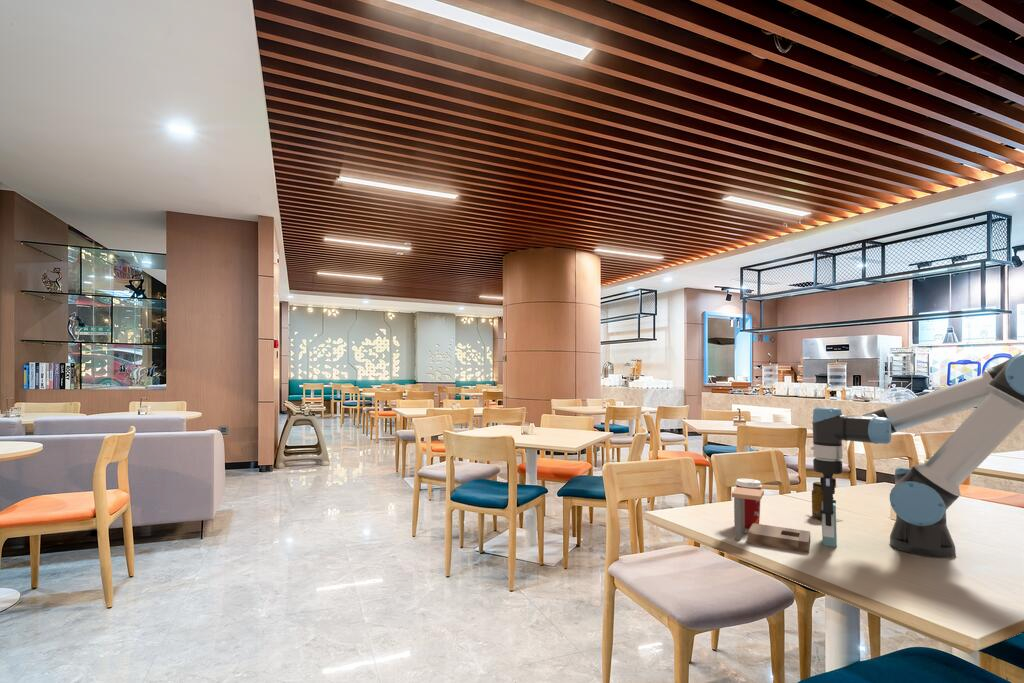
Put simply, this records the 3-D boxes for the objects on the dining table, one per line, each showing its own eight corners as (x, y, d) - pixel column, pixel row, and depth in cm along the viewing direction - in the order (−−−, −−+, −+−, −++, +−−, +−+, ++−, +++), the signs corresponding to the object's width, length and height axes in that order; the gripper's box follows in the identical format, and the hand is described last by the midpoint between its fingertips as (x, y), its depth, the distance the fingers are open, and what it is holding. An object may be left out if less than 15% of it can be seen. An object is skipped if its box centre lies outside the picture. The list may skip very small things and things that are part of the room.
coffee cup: (765, 530, 170) (764, 483, 171) (738, 529, 172) (737, 482, 173) (759, 523, 179) (758, 478, 179) (733, 521, 180) (732, 477, 181)
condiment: (822, 514, 191) (822, 480, 191) (842, 521, 182) (841, 486, 183) (805, 515, 189) (804, 481, 190) (824, 522, 181) (823, 486, 181)
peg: (836, 543, 158) (835, 503, 159) (836, 547, 155) (835, 505, 155) (822, 541, 160) (821, 501, 160) (822, 545, 157) (821, 504, 157)
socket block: (810, 541, 160) (810, 531, 160) (808, 553, 150) (808, 542, 150) (752, 532, 168) (752, 523, 168) (747, 543, 158) (747, 532, 158)
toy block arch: (764, 535, 166) (763, 490, 166) (760, 544, 157) (760, 496, 158) (737, 531, 170) (736, 487, 170) (732, 539, 161) (731, 493, 162)
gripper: (814, 452, 171) (815, 518, 170) (811, 463, 150) (813, 539, 149) (841, 454, 167) (842, 522, 166) (842, 466, 146) (844, 544, 145)
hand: (828, 530), depth 158 cm, fingers open, 13 cm apart
